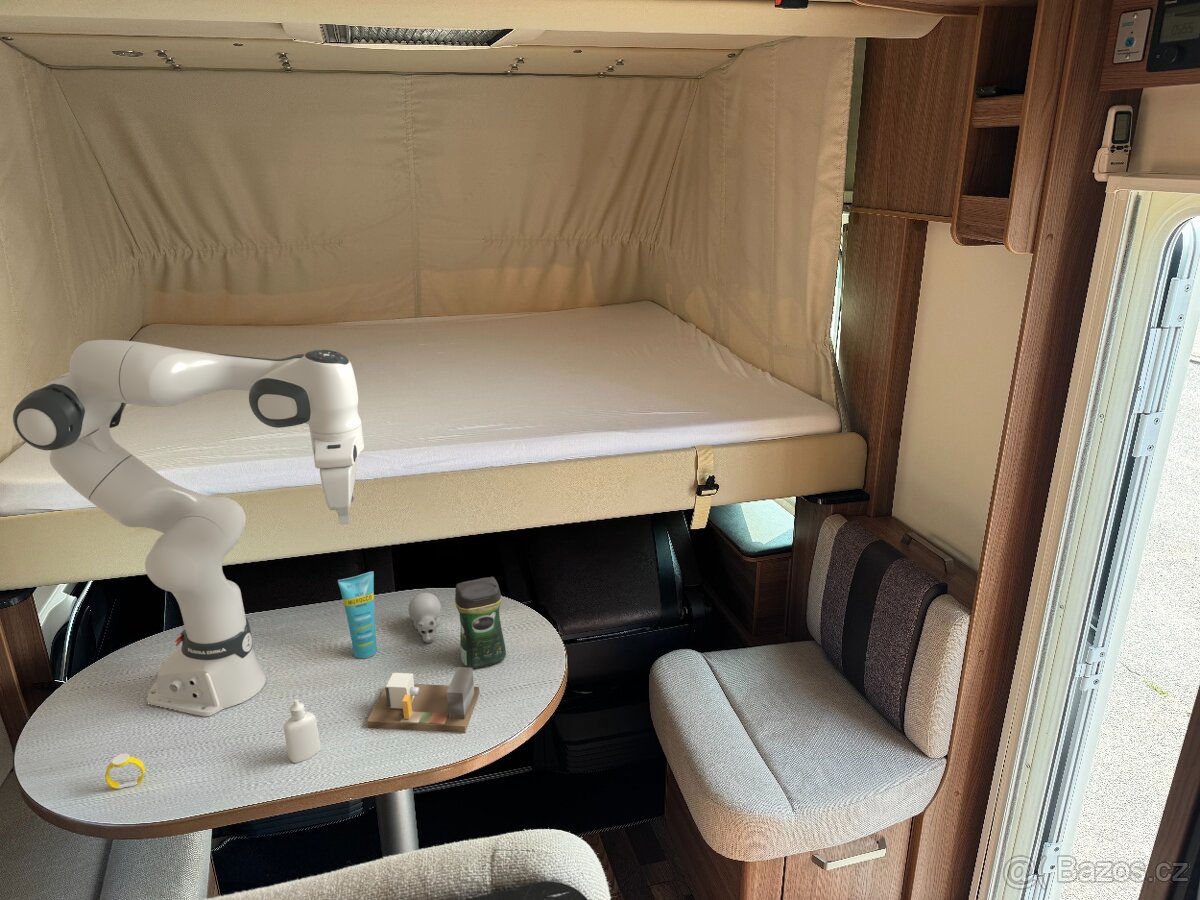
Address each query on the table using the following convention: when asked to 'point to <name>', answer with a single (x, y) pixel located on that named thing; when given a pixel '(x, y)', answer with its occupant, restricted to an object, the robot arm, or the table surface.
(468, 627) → the coffee jar
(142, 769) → the watch
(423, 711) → the bench
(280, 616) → the table surface
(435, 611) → the round bodied animal figurine
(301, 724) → the eye dropper bottle
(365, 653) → the tube
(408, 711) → the block
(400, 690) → the cream block with knob
